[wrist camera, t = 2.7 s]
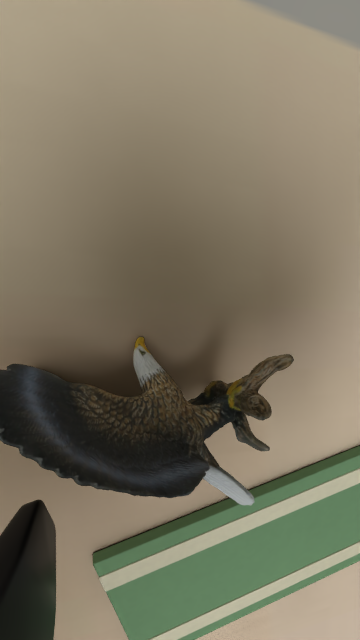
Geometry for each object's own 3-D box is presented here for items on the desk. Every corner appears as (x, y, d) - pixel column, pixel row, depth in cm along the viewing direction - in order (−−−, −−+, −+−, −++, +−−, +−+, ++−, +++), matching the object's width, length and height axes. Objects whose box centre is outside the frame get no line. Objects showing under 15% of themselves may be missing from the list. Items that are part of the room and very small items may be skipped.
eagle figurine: (237, 271, 12) (-36, 295, 8) (362, 451, 8) (-46, 642, 5) (188, 371, 18) (12, 412, 14) (248, 507, 14) (26, 612, 10)
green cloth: (139, 653, 20) (141, 667, 19) (92, 552, 16) (92, 566, 16) (397, 531, 23) (406, 539, 22) (406, 426, 20) (416, 433, 19)
